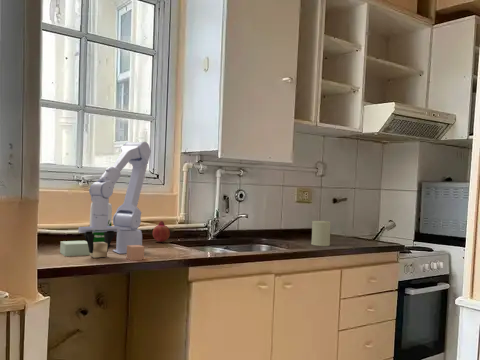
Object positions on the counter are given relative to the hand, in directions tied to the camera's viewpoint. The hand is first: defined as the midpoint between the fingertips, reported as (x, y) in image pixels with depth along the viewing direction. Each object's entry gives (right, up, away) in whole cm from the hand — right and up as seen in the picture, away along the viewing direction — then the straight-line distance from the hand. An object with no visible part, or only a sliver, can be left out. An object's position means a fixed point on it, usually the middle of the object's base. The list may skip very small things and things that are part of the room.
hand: (98, 252), depth 167 cm
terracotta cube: (+13, -2, -1) cm, 14 cm away
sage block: (-11, -2, +6) cm, 12 cm away
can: (+91, -6, +62) cm, 111 cm away
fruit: (+15, -3, +47) cm, 49 cm away
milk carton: (-9, -2, +29) cm, 30 cm away
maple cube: (0, -1, 0) cm, 1 cm away
